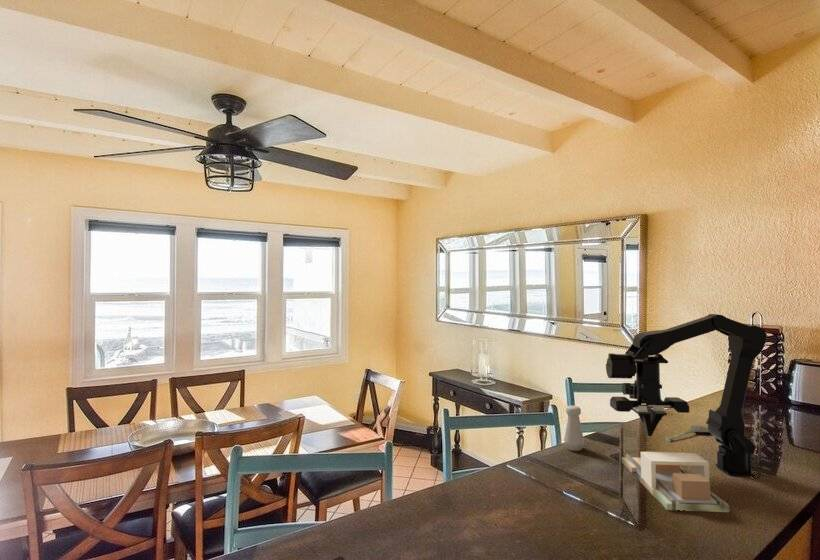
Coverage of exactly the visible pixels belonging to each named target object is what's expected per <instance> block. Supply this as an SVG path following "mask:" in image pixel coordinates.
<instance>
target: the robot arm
mask: <svg viewBox="0 0 820 560" xmlns="http://www.w3.org/2000/svg"><path fill="white" fill-rule="evenodd" d="M715 331H716V332H719V333H720V334H722V335H724V336H727V337H728V347H729V351H730V354H731V355H730V356H731V357H730V360H729V364H728V365H729V366H728V370H727V375H726V379H725V382H724V387H723V392H722V397H721V401H720V405H719V406H718V407H717V408H716V409H715V410H713V409H709V411H708V418H707V420H706V422H705V424H707V428H708V430H709V432H708V433H710V435H712V436H713V437H714V439H715V441H716V442H717V444H719V445H718V450H717V451H716V457H717V459H716V463H715V467H717V468H719V470H721V471H723V473H725V474H727V475H729V476H742V477H745V476H746V477H747V476H748V477H755V476H756V473H754V472H753V471H752V456H751V455H754V453H755V451H756V448H757V446H756V445H755V444H754V443H753V442H752V441H751V440H749V439H748V438H747V437H746V424H745V420H744V416H743V408H744V405H745V404H744V403H745V399H746V394H747V390H748V385H749V381H750V376H751V373H752V368H753V364H754V362H755V361H754V360H756V358H757V357H758V356H760V353H762V351H763V349H764V347H765V345H766V343H767V340H768V334H767V332H766V331H765V330H764V328H762V327H761V326H758V325H755V324H754V325H753V324H748V323H747V324H746V323H742V322H740V321H737V320H734V319H731V318H728V317H726V316H724V315H722V314H718V313H710V314H707V315H706V316H703V317H699V318H697V319H693V320H691V321H687V322H684V323H682V324H679V325H675V326H673V327H672V326H671V327H670V328H669V327H668V328H666V329H659V330H648V331H643V332H641V331H640V332H638V333H636V334H635V335H634V337H633V341H632V343H631V344H630V346H629V348H627V350H626V351H625V352H624V353H622V354H621V353H610V352H609V353H608V357H607V359H606V363H605V370H606V375H607V377H608V378H609V379H626V380H627V379H632V378H633V377H635V380H634V381H633V382H634V385H632V384H631V382H624V383H623V382H622V384H621V392H622V394H623V395H624V396H612V397H610V399H609V406H610V407H611V409H613V410H615V411H616V412H621V413H622V412H625V413H629V412H631V411H633V412H634V413H635V414H637V416H638V417H639V418H640V421H641V423H642V426H643V428H644V431H645V433H646V435H647V437H653V434H654V432H655V430H656V429H657V426H658V424H659V423H660V422H661V420H662V418H663V417H664V416H668V413H667V412H665V409H673V410H675V411H676V412H677V413H683V414H684V413H685V414H688V413H690V405H689V402H687V401H686V400H685V399H682V398H680V397H677V396H676V397H675V396H673V397H671V396H670V397H667V396H666V397H665V398H663V399H662V398H661V390H662V389H663V384H661V373H660V370H661V369H660V364H668V363H669V361H668V360H667V359H666V358H665V357H663V355H662V354H661V353H663V352H665V351H666V350H668V349H669V348H670V347H672V346H673V345H674V344H677V343H680V342H683V341H686V340H689V339H692V338H696V337H700V336H702V335H705V334H709V333H711V332H715ZM625 396H629V398H627V397H625ZM630 399H631V400H630Z"/></svg>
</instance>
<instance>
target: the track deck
mask: <svg viewBox="0 0 820 560" xmlns="http://www.w3.org/2000/svg"><path fill="white" fill-rule="evenodd" d="M621 463H622V465H624V466H625V468H627V470H628V471H629V472H630V473H631V474H632V475H633V476H634V477H635V478H636V479H637V480H638V482H640V484H642V485H643V487H644V488H645V489H646V490H647V491H648V492H649V493H650V494H651V495H652V496H653V497H654V499H656V500H657V501H658V502H659V504H660V505H661V506H663V508H664V509H665V510H666V511H677V510H680V511H681V512H685V511H686V512H709V513H710V512H712V513H730V505H729V503H727V502H726V501H725V500H723V499H722V498H720V497H719V496H718V495H717V494H715V493H714V492H713V491H712V490H711V489H710V496H711V497H712V498H713V499H715V500H716V501H717V504H706V503H678V502H677V501H676V500H675V499H674V498H673V497H672V496H671V495H670V494H669V493H668V492H667V491H666V490H665V489H664V488H663V487H662V486H661V485H660V484H659V483H658V482H657V481H656V488H651V487H650V486H649V485H648V484H647V483H646V482H645V480H644V479H643V478H642V477H641V457H632V456H631V455H630V454H625V456H624V457H623V456H622V457H621ZM680 471H681V472H682V473H683V474H690V473H689V472H687V471H686V470H685V469H684V468H683V467H682V465H680ZM683 510H685V511H683Z"/></svg>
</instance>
